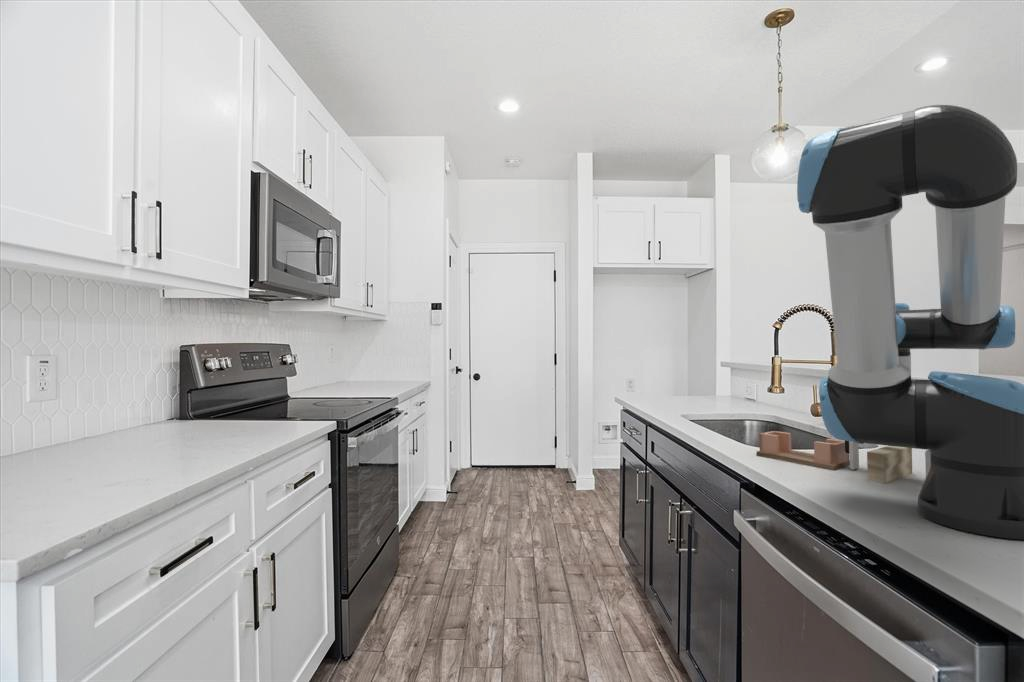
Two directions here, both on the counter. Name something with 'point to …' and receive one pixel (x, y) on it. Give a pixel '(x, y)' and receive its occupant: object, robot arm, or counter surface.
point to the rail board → (801, 459)
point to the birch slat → (888, 463)
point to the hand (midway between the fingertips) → (890, 475)
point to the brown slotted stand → (823, 451)
